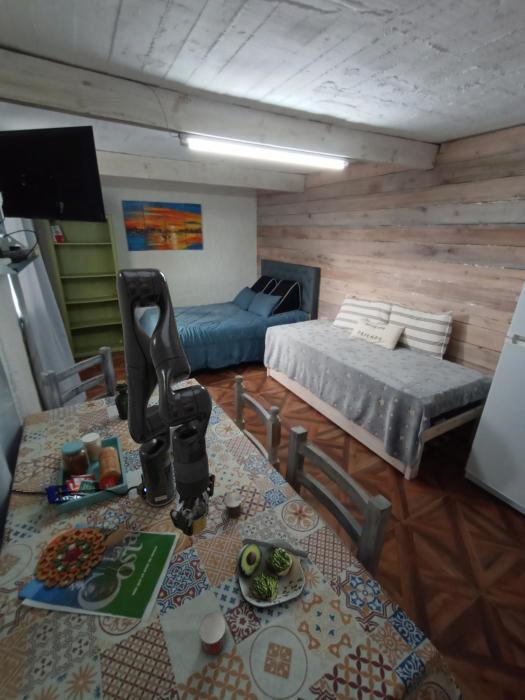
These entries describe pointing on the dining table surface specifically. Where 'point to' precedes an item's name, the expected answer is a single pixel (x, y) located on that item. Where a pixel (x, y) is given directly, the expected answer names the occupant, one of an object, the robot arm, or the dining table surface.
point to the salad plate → (269, 572)
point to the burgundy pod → (212, 632)
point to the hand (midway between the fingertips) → (196, 523)
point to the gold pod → (199, 518)
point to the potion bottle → (122, 399)
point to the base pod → (233, 504)
